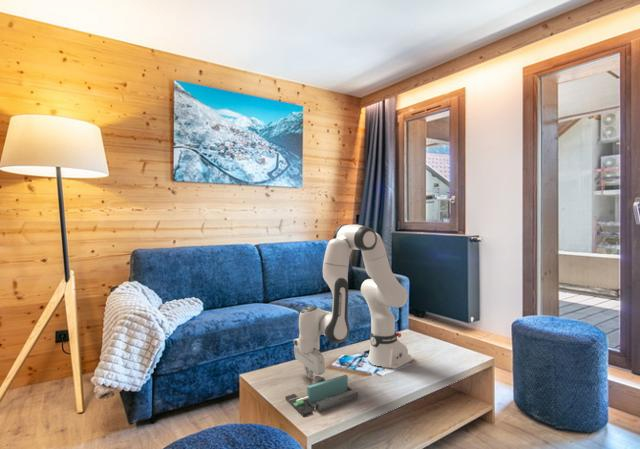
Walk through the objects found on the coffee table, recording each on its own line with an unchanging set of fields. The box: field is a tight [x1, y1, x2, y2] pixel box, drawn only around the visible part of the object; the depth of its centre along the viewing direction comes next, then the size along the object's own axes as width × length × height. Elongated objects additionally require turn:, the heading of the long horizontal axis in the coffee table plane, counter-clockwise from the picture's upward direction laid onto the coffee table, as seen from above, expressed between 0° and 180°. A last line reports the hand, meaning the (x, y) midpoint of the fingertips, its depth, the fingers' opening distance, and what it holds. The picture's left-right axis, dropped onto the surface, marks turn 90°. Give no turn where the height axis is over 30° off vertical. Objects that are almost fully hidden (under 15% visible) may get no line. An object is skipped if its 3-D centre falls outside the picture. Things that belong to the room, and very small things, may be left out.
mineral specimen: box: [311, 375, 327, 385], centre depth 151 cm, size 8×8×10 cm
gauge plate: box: [296, 374, 349, 404], centre depth 144 cm, size 23×2×6 cm, turn 122°
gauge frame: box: [285, 385, 359, 417], centre depth 143 cm, size 25×15×3 cm, turn 122°
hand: (309, 376), depth 157 cm, fingers closed
